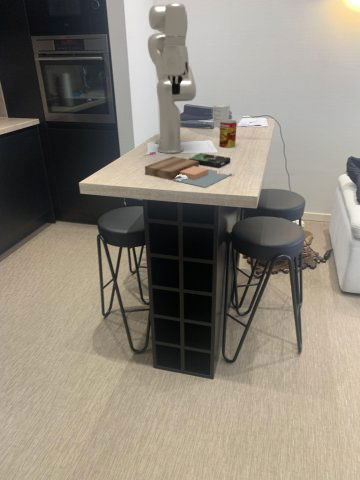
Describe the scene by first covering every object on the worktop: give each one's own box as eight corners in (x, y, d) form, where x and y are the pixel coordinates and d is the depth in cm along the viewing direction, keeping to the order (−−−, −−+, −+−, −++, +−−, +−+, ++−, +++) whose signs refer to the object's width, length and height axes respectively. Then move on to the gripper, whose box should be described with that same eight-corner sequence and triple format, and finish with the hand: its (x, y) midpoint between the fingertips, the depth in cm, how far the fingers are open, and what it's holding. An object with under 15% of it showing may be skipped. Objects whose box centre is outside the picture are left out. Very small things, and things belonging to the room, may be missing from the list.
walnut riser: (145, 174, 145) (144, 166, 143) (173, 163, 158) (172, 156, 156) (172, 179, 138) (171, 172, 137) (198, 168, 151) (198, 161, 150)
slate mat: (173, 180, 137) (173, 180, 137) (201, 168, 151) (201, 168, 151) (205, 187, 130) (205, 187, 130) (232, 174, 143) (232, 173, 143)
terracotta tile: (179, 176, 141) (179, 171, 140) (193, 171, 147) (193, 166, 146) (194, 180, 137) (194, 174, 136) (208, 174, 143) (208, 169, 142)
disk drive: (230, 164, 159) (200, 158, 166) (230, 157, 158) (200, 152, 165) (219, 169, 151) (188, 164, 158) (219, 163, 150) (188, 157, 157)
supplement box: (220, 125, 237) (221, 104, 231) (229, 127, 231) (230, 105, 226) (212, 126, 232) (212, 105, 227) (220, 128, 227) (221, 106, 221)
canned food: (216, 145, 187) (217, 120, 182) (229, 143, 190) (230, 119, 185) (224, 148, 181) (226, 123, 176) (238, 146, 184) (239, 121, 179)
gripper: (153, 42, 142) (155, 94, 150) (186, 41, 134) (185, 96, 142) (165, 42, 147) (166, 92, 155) (197, 42, 139) (196, 94, 148)
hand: (176, 94), depth 149 cm, fingers closed
